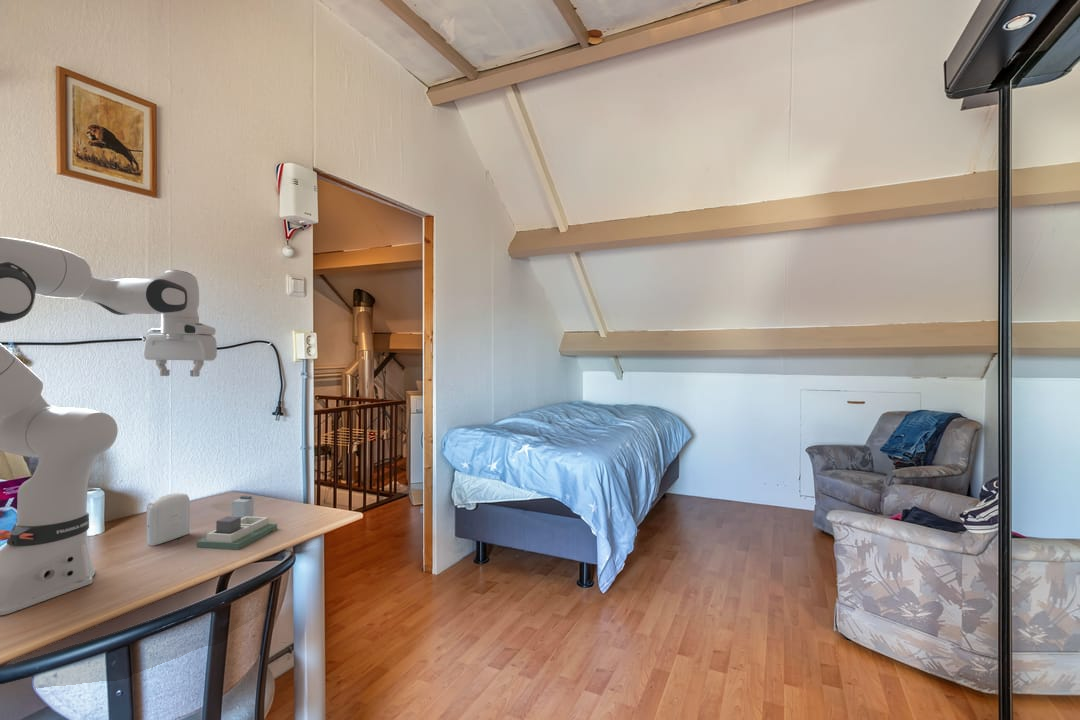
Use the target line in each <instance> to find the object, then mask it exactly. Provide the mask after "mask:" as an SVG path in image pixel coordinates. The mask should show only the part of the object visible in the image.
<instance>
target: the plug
mask: <svg viewBox="0 0 1080 720" xmlns="http://www.w3.org/2000/svg"><path fill="white" fill-rule="evenodd" d="M254 502H255V499H254V497H253V496H251V495H249V496H247V495H242V496H240V497H239V498H237V499H235V500H232V505H231V506H232V507H231V508H232V510H231V513H232V514H231V517H241V518H243V517H246V516H252V517H254V507H255V505H254V504H255V503H254Z"/></svg>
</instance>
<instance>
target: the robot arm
mask: <svg viewBox="0 0 1080 720" xmlns="http://www.w3.org/2000/svg"><path fill="white" fill-rule="evenodd" d="M36 295H37V296H42V297H46V298H47V297H48V298H55V299H56V298H59V299H79V300H82V301H87V302H91V303H93V304H97V305H98V306H100V307H101V308H103V309H105V311H106V310H107V311H108V312H110V313H112V314H114V315H117V316H127V315H160V327H159V328H157V327H152V328H151V329H149V330H148V331H147V332H146V337H145V340H144V341H145V342H144V344H143V345H144V346H143V357H144V359H145V360H146V361H147V360H150V361H152V360H153V361H155V364H156V366H157V368H158V370H159V376H161V377H169V376H170V375H171V373H170V372H171V370H170V369H168V368H167V365H166V364H168V363H167V362H168V361H192V362H193V365H194V366H193V368H192V369H191V370H189V376H190V377H196V378H197V377H200V373H201V372H200V371H201V369H202V368H203V367H204V363H205V361H206V362H207V361H208V362H210V361H212V362H213V361H214V360H215V359H216V358H217V355H218V350H217V349H218V347H217V340H216V339H217V338H216V337H215V336H214V335H215V334H216V331H217V330H216V328H215V327H213V326H209V325H207V324H204V323H202V322H200V316H199V313H198V310H199V307H200V288H199V282H198V279H197V277H196V276H195V275H193V273H190V272H187V271H183V270H179V269H170V270H169V269H168V270H165V271H164V273H162V274H160V275H156V276H152V277H150V278H149V277H145V278H143V277H142V278H141V277H140V278H139V277H138V278H137V277H136V278H134V277H133V278H127V277H110V278H106V279H102V278H98V277H95V276H93V269H92V267H91V265H90V264H89V263H88V261H87V260H86V259H85V258H84V257H83V256H80V255H78V254H76V253H74V252H71V251H69V250H66V249H63V248H60V247H56V246H52V245H49V244H45V243H41V242H38V241H37V242H36V241H33V240H27V239H22V238H21V239H19V238H13V237H5V236H0V324H5V323H10V322H11V323H12V322H14V321H17V320H20V319H22V318H25V316H27V315H28V314H29V313H30V312H31V311H32V310H33V308H34V304H35V301H36ZM43 389H44V383H43V381H42V379H41V378H40V377H39V376H38V375H37V374H36V373H35V372H34V371H32V370H31V368H29V367H28V366H27V365H26V364H25V363H23V362H22V361H21V360H20V359H19V358H18V357H17V356H16V355H15V354H13V353H12V351H11V350H9V349H8V348H7V347H6V346H4V345H3V344H2V343H0V451H2V452H4V453H8V454H12V455H16V456H20V457H37V458H38V462H37V466H36V467H35V471H34V473H33V474H32V476H31V477H30V478H28V479H27V480H25V481H24V482H22V483H21V485H20V486H19V487H18V489H17V499H16V500H17V510H16V516H17V517H16V520H17V521H16V523H15V524H14V525H13V527H12V529H11V531H10V530H6V529H5V530H3V529H0V541H6V545H4V547H2V548H1V549H0V616H4V615H5V616H6V615H8V614H12V613H14V612H18V611H20V610H23V609H25V608H28V607H31V606H33V605H37V604H39V603H42V602H44V601H47V600H50V599H53V598H55V597H58V596H61V595H63V594H66V593H69V592H72V591H75V590H77V589H79V588H83V587H86V586H88V585H91V584H93V582H94V579H93V577H94V575H95V574H96V570H95V568H94V565H93V562H92V559H91V554H90V547H89V543H88V542H89V541H88V530H89V528H90V513H89V512H88V510H87V508H88V507H87V505H88V488H89V487H88V486H89V480H90V477H91V473H92V470H93V469H94V466H95V464H96V463H97V461H98V459H99V458H100V457H101V456H102V455H103V454H104V453H105V452H106V451H108V450H109V449H110V448H111V447H112V446H113V445H114V443H115V442H116V440H117V436H118V425H117V422H116V420H115V419H114V418H113V416H111V415H110V414H108V413H105V412H102V411H98V410H94V409H90V408H87V407H59V406H56V405H53V404H51V403H49V402H48V401H46V400H45V399H44V396H43V395H42V393H43Z"/></svg>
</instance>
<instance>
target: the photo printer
mask: <svg viewBox="0 0 1080 720" xmlns="http://www.w3.org/2000/svg"><path fill="white" fill-rule="evenodd" d="M190 501H191V500H190V497H189V495H188V494H187V493H183V492H182V493H181V492H180V493H178V492H177V493H169V494H165V495H162V496H159V497H158V498H155V499H154V500H152V501H150V502H149V503H148V504H147V506H146V544H147V546H149V547H150V546H151V547H153V546H158V545H162V544H163V543H166V542H169V541H172V540H176V539H178V538H181V537H184V536H186V535H189V533H190V523H191V522H190V513H191V511H190V510H191V509H190V508H191V507H190V503H191V502H190Z"/></svg>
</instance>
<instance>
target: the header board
mask: <svg viewBox="0 0 1080 720" xmlns="http://www.w3.org/2000/svg"><path fill="white" fill-rule="evenodd" d="M215 525H216V526H215V527H216V529H214V530H212V531H209V532H208V533H206V536H205V537H204V538H201V539H198V540H197V541H196V548H203V549H204V548H205V549H222V550H223V549H224V550H236V551H237V550H241V549H242V548H244V547H246V546H248V545H250V544H252V543H253V542H256V541H257V540H260V539H261V538H263V537H265V536H267V535H269V534H270V533H269V532H271V531H272V532H274V531H275V530H274V529H276V528H277V529H278V524H277V523H269V517H267V516H266V517H265V516H253V517H252V516H246V517H243V518H241V517H232V516H228V515H227V516H225V517H223V518H219V519H218V520H216V524H215ZM277 529H276V530H277ZM273 530H274V531H273ZM272 532H271V533H272ZM268 533H269V534H268ZM266 534H267V535H266Z"/></svg>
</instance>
